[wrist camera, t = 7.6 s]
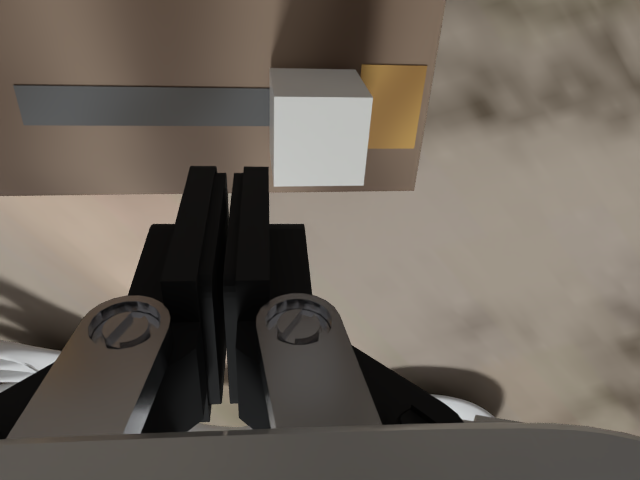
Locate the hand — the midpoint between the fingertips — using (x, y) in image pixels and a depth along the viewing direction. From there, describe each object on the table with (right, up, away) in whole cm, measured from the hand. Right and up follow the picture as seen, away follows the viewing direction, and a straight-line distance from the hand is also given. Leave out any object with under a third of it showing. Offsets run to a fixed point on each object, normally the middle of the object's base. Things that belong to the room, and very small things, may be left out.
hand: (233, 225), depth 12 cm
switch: (+2, +4, +7) cm, 9 cm away
